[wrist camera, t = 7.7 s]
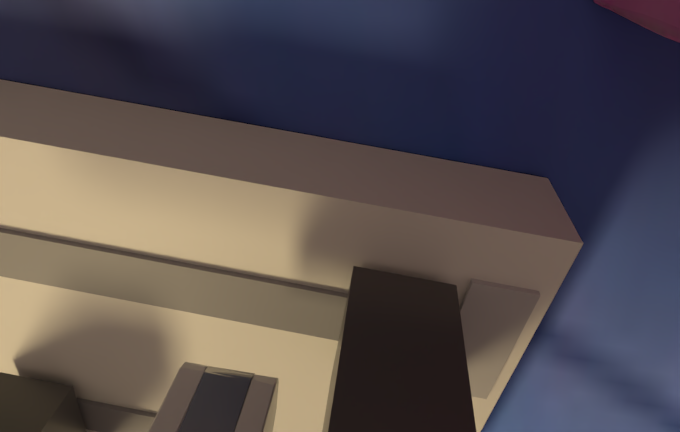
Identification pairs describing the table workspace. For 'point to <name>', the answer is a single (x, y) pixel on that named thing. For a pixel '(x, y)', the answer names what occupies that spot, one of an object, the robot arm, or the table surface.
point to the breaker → (38, 406)
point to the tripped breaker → (399, 358)
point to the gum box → (649, 14)
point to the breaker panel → (243, 252)
